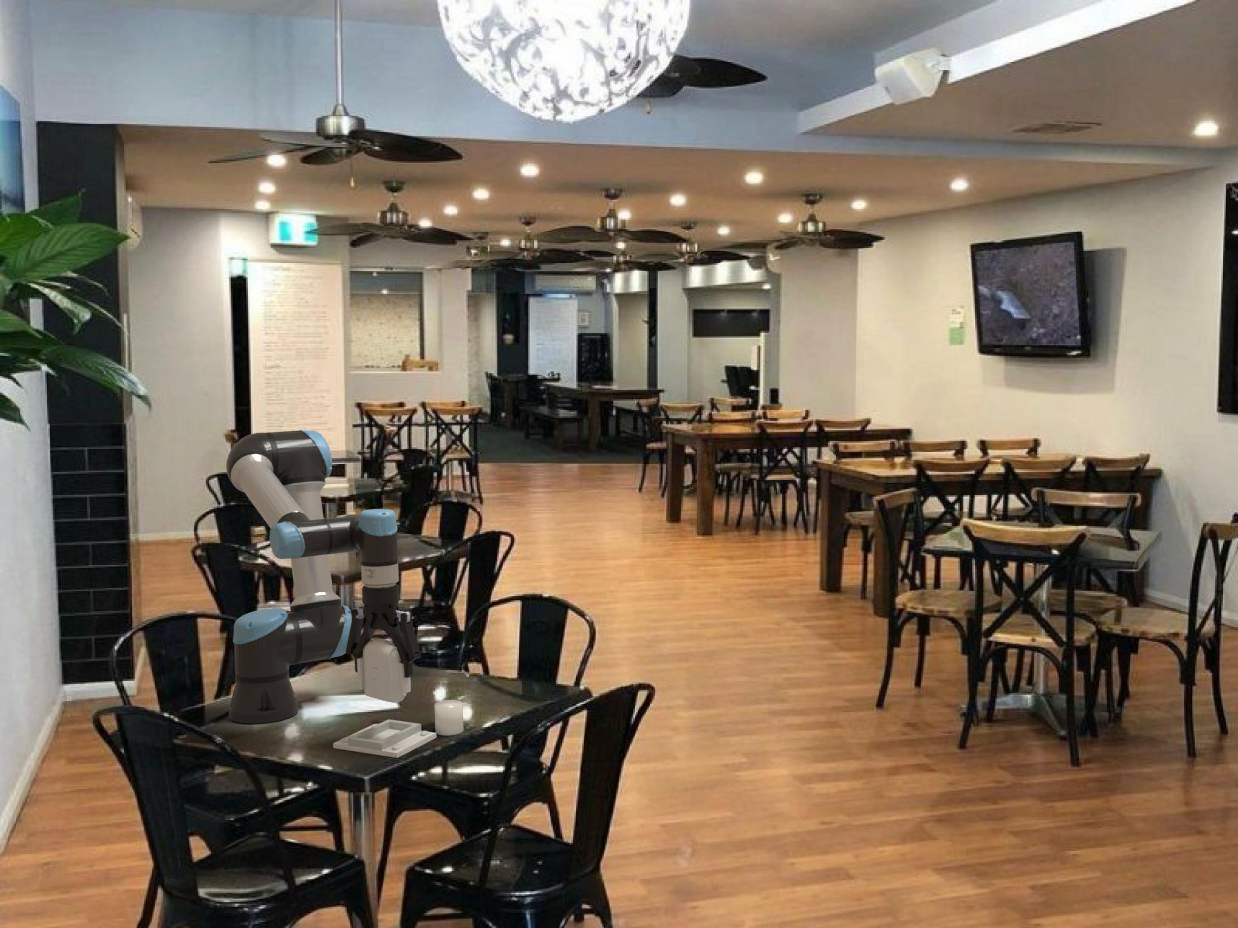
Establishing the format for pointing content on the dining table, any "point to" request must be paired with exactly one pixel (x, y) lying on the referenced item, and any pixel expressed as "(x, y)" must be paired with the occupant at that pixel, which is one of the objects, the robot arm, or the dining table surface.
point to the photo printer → (382, 670)
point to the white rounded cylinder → (449, 717)
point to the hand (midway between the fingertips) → (384, 690)
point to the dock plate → (386, 739)
